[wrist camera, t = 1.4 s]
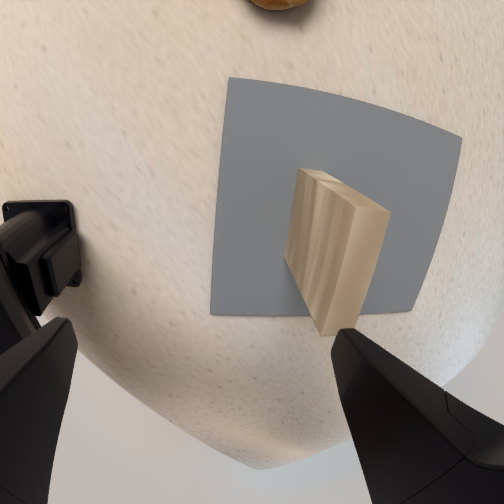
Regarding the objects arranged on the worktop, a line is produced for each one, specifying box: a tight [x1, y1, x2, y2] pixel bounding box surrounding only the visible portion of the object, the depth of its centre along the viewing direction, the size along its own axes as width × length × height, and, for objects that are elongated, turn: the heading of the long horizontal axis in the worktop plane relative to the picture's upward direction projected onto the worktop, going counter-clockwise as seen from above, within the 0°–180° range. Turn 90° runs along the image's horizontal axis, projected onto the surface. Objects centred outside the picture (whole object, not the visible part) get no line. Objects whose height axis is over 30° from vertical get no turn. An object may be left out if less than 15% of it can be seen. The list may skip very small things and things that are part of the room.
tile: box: [284, 168, 391, 336], centre depth 15 cm, size 2×6×8 cm, turn 174°
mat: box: [210, 77, 462, 316], centre depth 19 cm, size 18×16×1 cm
